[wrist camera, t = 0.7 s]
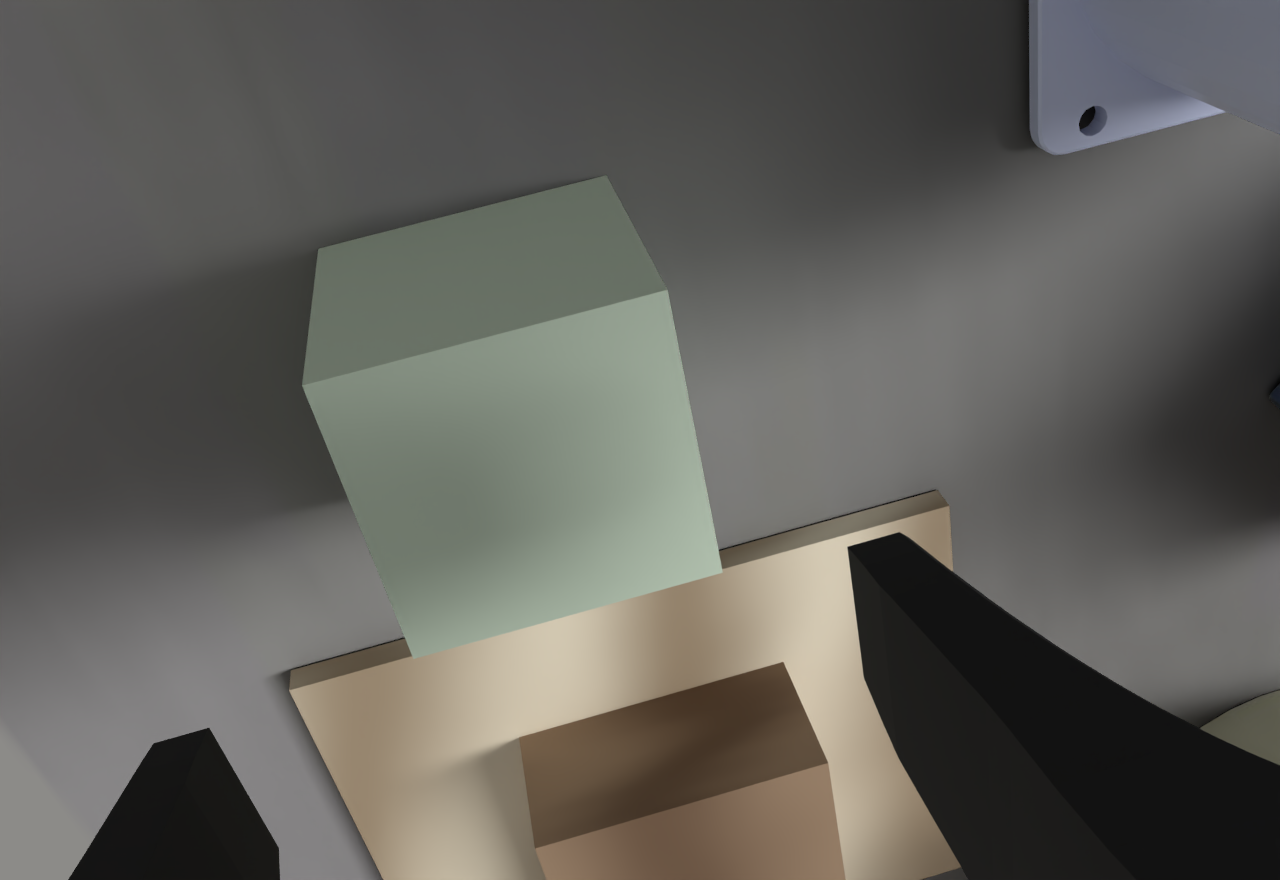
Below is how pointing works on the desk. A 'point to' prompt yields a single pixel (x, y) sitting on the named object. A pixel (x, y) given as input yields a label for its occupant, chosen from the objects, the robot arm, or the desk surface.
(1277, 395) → the box
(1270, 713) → the reusable coffee cup
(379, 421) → the sage cube
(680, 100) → the desk surface
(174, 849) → the robot arm
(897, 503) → the baseplate
